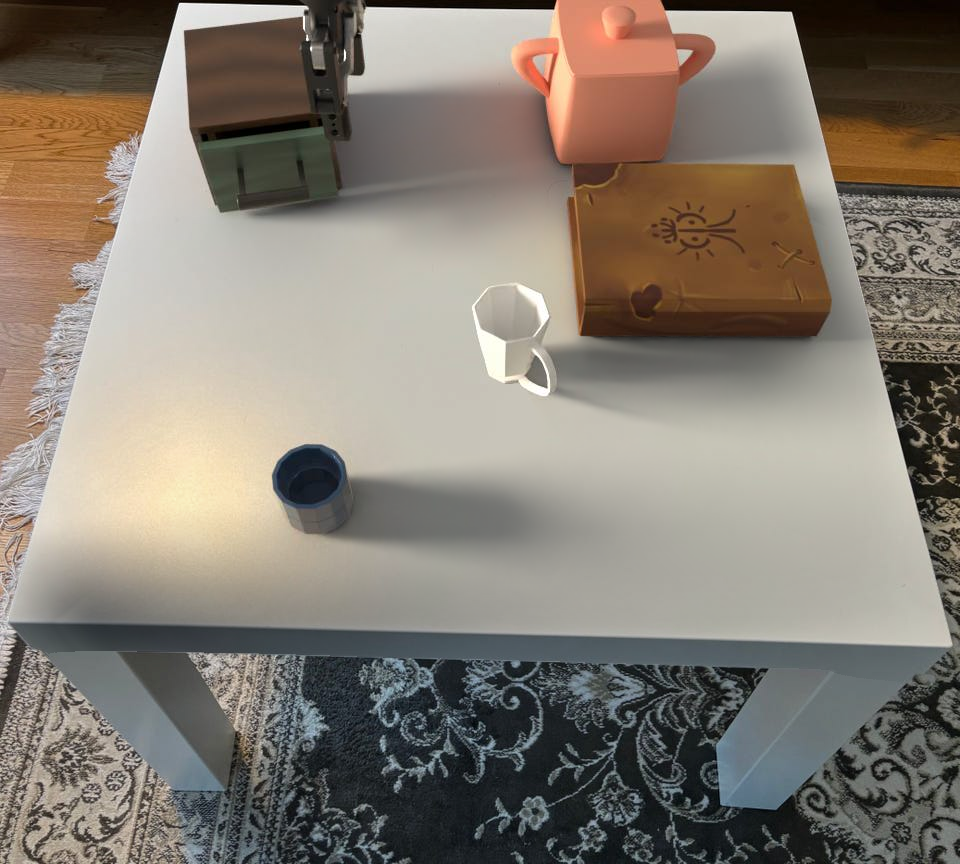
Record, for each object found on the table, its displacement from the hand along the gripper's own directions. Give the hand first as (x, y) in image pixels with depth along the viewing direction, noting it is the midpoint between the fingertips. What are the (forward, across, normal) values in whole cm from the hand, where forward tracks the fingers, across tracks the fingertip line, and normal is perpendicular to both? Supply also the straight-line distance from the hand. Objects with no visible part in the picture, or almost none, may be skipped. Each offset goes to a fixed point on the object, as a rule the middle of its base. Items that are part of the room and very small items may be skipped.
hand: (346, 104), depth 77 cm
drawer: (+17, -9, -11) cm, 22 cm away
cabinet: (+18, -14, -12) cm, 26 cm away
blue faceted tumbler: (+18, +30, 0) cm, 35 cm away
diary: (+18, 0, +33) cm, 38 cm away
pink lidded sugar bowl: (+18, -24, +24) cm, 38 cm away
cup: (+18, +15, +16) cm, 29 cm away
